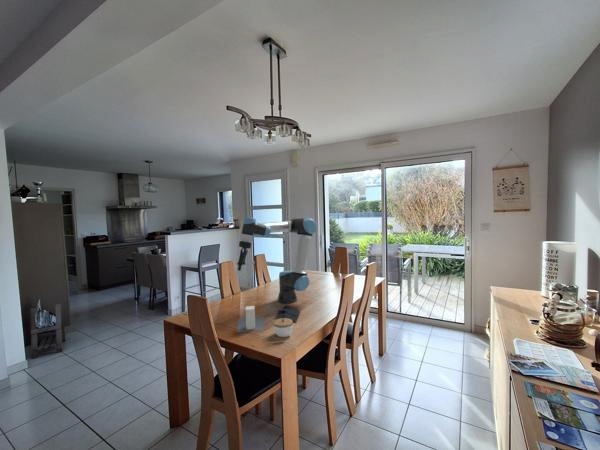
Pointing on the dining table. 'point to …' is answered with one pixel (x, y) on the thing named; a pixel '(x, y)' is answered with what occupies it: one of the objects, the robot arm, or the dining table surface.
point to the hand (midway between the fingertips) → (239, 275)
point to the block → (250, 317)
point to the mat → (258, 325)
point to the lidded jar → (283, 327)
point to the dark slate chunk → (288, 313)
